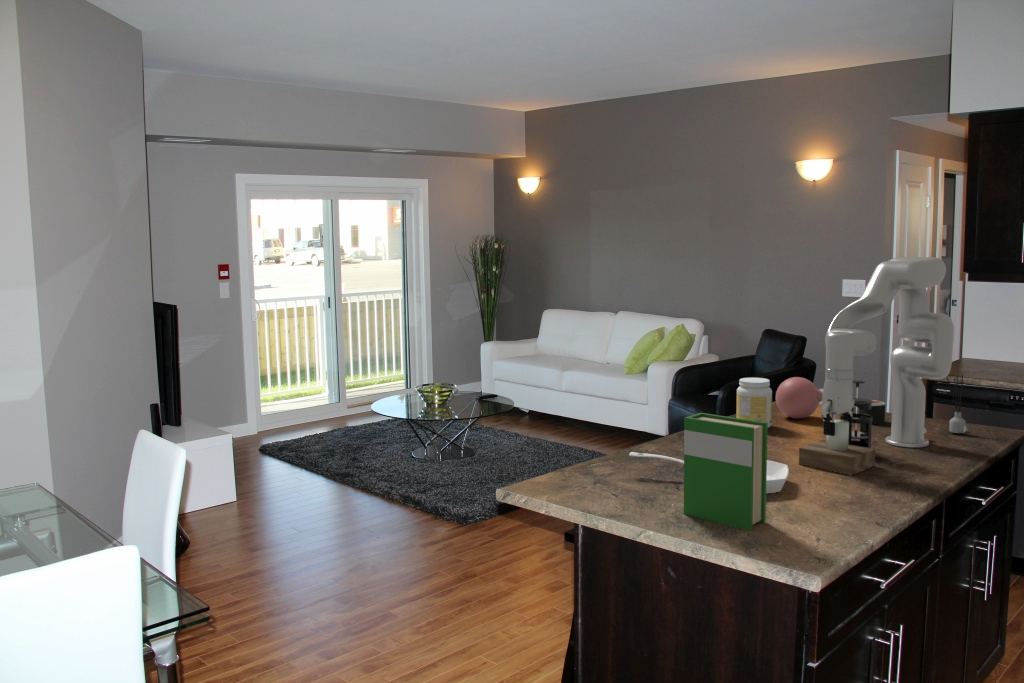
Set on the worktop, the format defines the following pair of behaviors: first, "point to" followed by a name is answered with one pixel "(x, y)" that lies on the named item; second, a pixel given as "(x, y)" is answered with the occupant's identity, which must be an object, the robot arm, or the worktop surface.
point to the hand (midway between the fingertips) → (837, 432)
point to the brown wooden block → (837, 458)
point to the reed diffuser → (957, 414)
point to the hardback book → (725, 469)
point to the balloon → (798, 397)
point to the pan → (774, 478)
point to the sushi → (876, 412)
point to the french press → (861, 421)
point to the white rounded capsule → (839, 436)
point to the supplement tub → (754, 400)
